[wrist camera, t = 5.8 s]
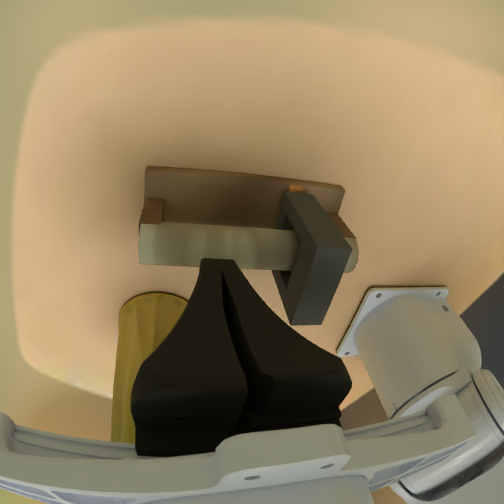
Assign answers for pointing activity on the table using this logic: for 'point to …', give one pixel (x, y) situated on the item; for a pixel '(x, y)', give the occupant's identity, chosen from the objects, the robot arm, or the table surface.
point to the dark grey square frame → (310, 260)
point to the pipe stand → (226, 218)
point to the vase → (138, 351)
